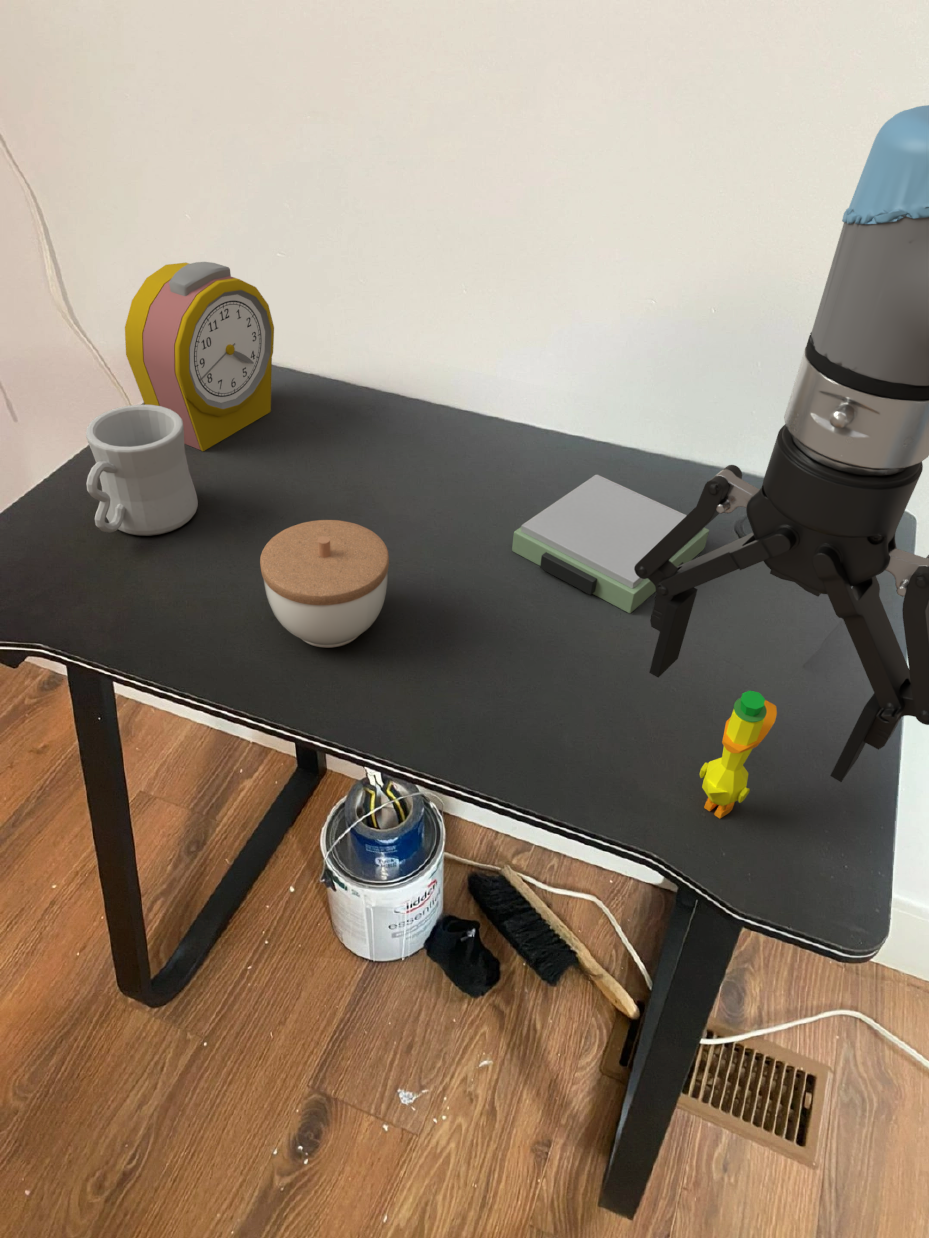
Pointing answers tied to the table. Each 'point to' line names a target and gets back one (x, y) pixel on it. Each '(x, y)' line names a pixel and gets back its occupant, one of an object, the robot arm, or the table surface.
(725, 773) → the toy figure
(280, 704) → the table surface
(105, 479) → the mug
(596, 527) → the kitchen scale
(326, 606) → the trinket box
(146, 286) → the alarm clock
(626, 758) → the table surface
